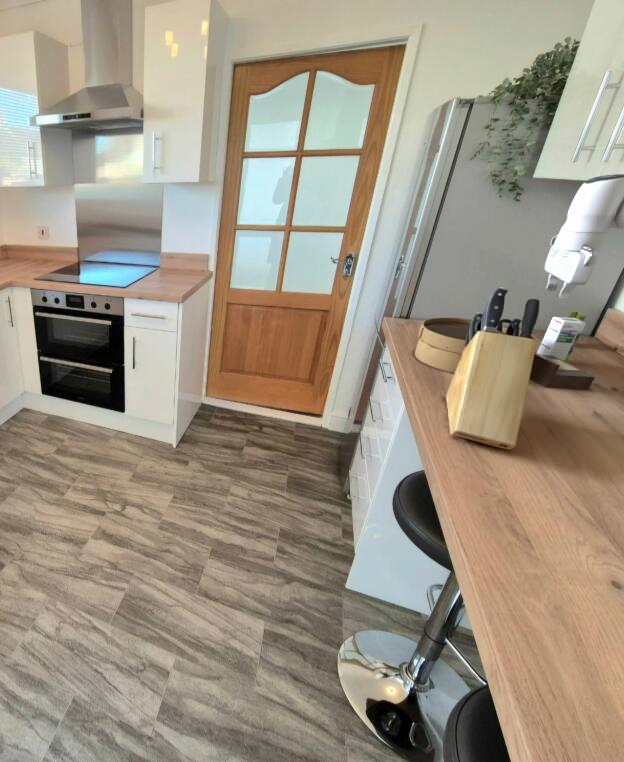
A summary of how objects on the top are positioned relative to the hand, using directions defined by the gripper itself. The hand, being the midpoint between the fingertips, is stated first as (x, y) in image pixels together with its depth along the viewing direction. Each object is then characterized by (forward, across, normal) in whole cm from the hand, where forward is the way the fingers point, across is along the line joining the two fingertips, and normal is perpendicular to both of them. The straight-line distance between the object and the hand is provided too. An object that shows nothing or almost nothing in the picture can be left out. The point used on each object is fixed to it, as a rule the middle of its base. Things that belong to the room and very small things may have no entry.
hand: (556, 294), depth 119 cm
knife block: (+26, -35, +17) cm, 47 cm away
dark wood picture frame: (+26, +4, -7) cm, 27 cm away
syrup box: (+26, +20, -12) cm, 35 cm away
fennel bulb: (+26, +42, -21) cm, 54 cm away
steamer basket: (+26, +6, +15) cm, 30 cm away
